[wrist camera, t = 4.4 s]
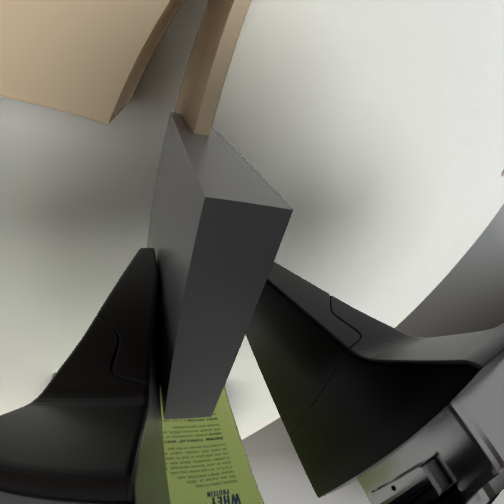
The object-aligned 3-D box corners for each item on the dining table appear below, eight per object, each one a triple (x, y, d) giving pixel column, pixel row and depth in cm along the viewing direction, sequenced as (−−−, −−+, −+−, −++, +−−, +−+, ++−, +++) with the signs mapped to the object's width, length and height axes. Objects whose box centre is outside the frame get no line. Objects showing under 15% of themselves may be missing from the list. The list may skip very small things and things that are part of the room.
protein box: (50, 371, 19) (56, 553, 7) (223, 377, 25) (282, 537, 13) (70, 423, 24) (84, 553, 12) (202, 425, 30) (241, 544, 18)
